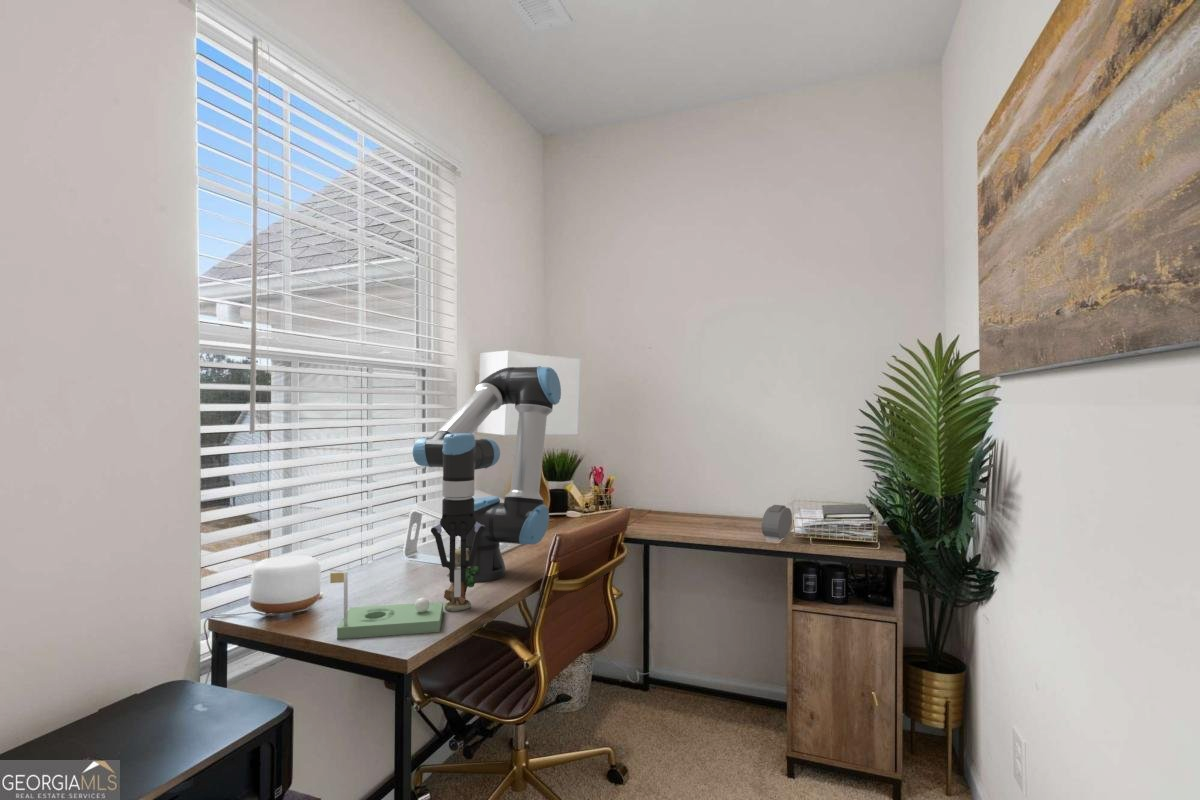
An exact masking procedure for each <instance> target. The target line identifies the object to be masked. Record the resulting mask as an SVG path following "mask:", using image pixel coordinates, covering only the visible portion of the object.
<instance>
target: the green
mask: <svg viewBox="0 0 1200 800" xmlns="http://www.w3.org/2000/svg"><path fill="white" fill-rule="evenodd" d="M414 605H415V603H403V604H385V605H369V606H368V605H367V606H353V607H348V625H347V626H344V617H343V618H342V619H341V621H340V623H339V624H338V626H337V628H336V631H337V632H336V636H337V637H336V639H337V640H342V639H343V640H344V639H357V638H370V637H371V638H372V637H382V636H385V637H386V636H397V635H399V636H400V635H410V634H411V635H412V634H426V633H427V634H428V633H439V632H440V631H441V625H442V619H443V614H444V601H437V602H436V601H434V602H429V608H428V609H427V610H426V611H425V612H422V613H420V612H417V611H416V610H415V607H414Z"/></svg>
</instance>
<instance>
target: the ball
mask: <svg viewBox="0 0 1200 800" xmlns="http://www.w3.org/2000/svg"><path fill="white" fill-rule="evenodd" d="M429 603H430V602H429V600H428V599H427V598H426V597H419V598H417V599H416V601H415V602H414V604H415V605H414V607H415V610H416V611H417V612H420V613H422V612H425V611H426V610H427V609H428V608H429Z"/></svg>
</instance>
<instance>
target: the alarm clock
mask: <svg viewBox="0 0 1200 800" xmlns="http://www.w3.org/2000/svg"><path fill="white" fill-rule="evenodd" d="M792 521H793V514H792V511H791V508H789V507H787V506H786V505H782V504H781V505H780V504H773V505H771V506H769V507H767V509H766V510H765V512H764V514H763V516H762V519H761V533H762V535H763V536H764V537H765V541H766V540H767V541H779V540H781V539H782V538H785V537H786V536H787V535H788V536H789V532H790V531H791V527H792ZM788 536H787V537H788ZM787 537H786V538H787ZM786 538H785V539H786Z"/></svg>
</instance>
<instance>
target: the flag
mask: <svg viewBox="0 0 1200 800" xmlns="http://www.w3.org/2000/svg"><path fill="white" fill-rule="evenodd" d="M329 574H330V577H329V578H330V579H329V580H330V581H329V582H330V584H340V583H343V618H344V626H347V625H348V610H349V607H348V606H349V605H348V603H349V601H348V600H349V596H348V594H349V589H348V587H349V583H348V581H349V577H348V575H349V573H348V571H343V572H341V571H340V572H330V573H329Z"/></svg>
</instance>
